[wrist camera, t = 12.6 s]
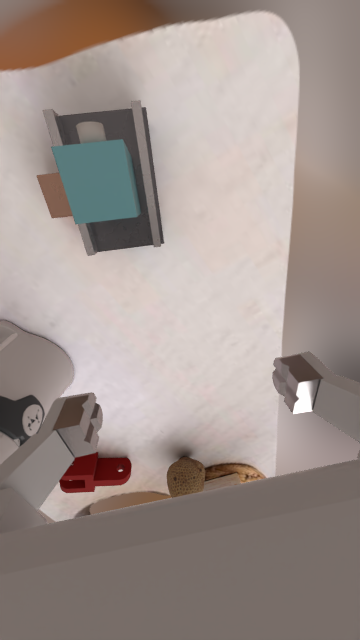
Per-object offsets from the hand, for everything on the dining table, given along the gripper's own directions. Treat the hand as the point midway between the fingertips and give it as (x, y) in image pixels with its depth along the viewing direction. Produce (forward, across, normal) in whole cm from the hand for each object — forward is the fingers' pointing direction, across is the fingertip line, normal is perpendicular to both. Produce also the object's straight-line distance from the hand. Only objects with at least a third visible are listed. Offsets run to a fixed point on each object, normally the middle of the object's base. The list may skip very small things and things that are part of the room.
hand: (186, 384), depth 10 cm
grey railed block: (+24, -5, +9) cm, 26 cm away
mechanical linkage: (+25, -24, -45) cm, 56 cm away
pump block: (+20, -4, +9) cm, 22 cm away
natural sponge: (+24, -4, -50) cm, 56 cm away
